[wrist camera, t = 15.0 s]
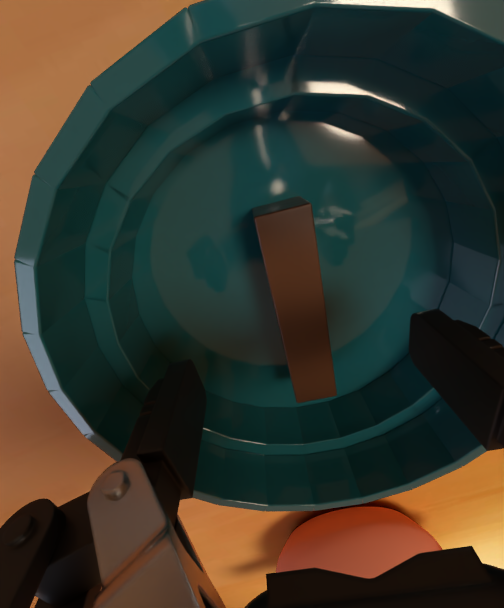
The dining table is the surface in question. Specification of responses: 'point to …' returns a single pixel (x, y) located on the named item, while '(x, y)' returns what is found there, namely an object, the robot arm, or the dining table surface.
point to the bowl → (245, 245)
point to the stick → (297, 294)
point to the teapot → (355, 542)
